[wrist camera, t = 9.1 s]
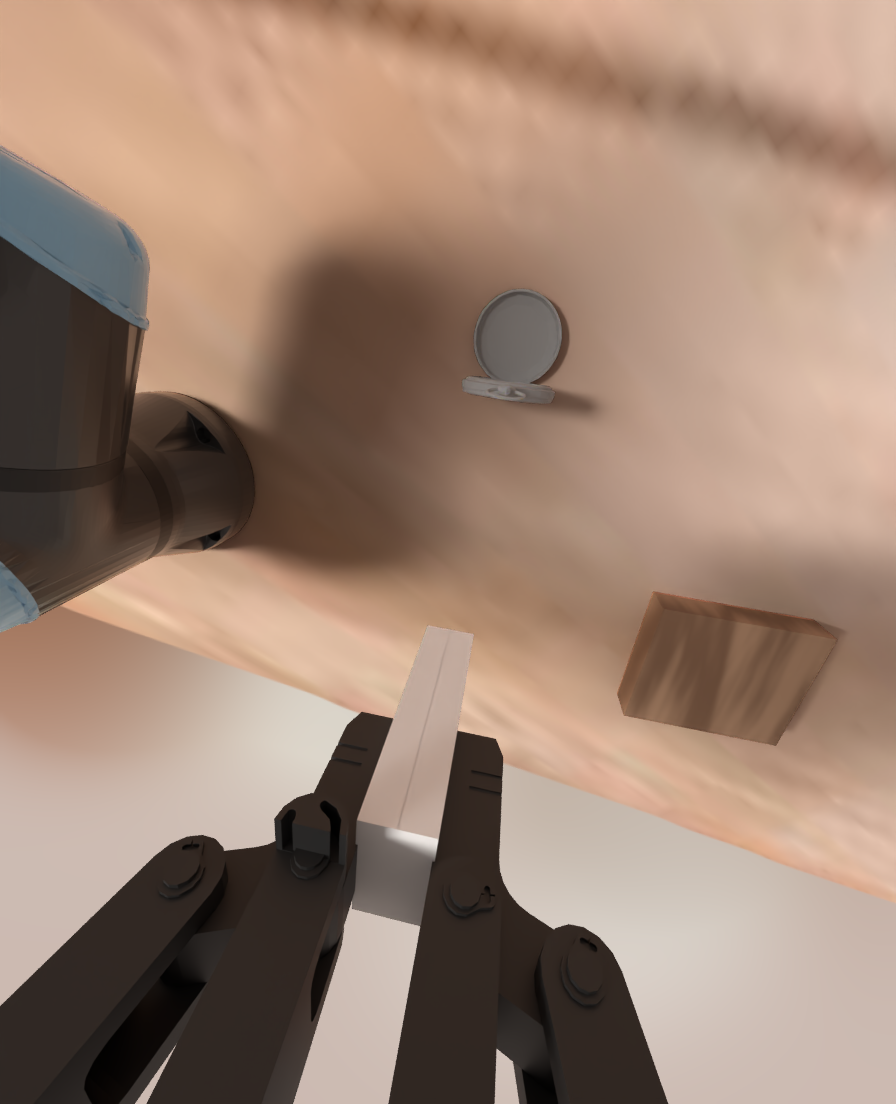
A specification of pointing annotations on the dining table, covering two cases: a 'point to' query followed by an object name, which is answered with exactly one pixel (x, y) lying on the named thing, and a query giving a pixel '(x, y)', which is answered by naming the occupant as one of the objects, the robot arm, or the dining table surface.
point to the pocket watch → (515, 347)
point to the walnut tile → (721, 667)
